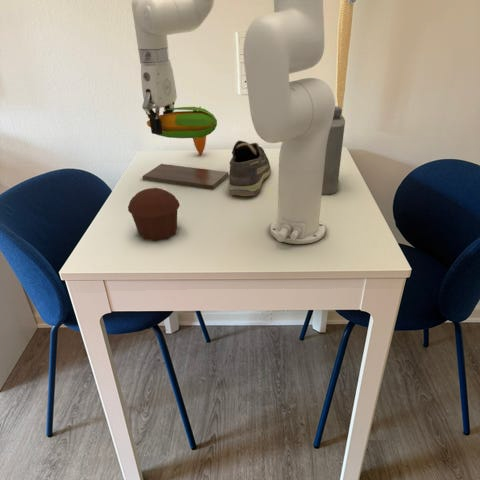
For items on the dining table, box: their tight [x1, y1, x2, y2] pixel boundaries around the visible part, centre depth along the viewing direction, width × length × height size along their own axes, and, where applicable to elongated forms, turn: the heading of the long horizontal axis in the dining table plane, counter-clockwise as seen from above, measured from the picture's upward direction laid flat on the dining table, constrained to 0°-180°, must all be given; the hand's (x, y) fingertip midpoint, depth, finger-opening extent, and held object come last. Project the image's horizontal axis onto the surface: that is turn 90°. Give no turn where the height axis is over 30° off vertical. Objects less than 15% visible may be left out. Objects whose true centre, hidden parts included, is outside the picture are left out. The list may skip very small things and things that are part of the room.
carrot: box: [192, 106, 207, 156], centre depth 142 cm, size 5×5×15 cm
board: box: [142, 163, 229, 190], centre depth 131 cm, size 11×23×1 cm, turn 67°
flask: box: [322, 105, 346, 195], centre depth 118 cm, size 15×6×20 cm, turn 176°
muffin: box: [127, 187, 181, 242], centre depth 101 cm, size 12×11×10 cm
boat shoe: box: [227, 140, 272, 197], centre depth 125 cm, size 11×29×11 cm, turn 174°
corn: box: [146, 106, 218, 139], centre depth 121 cm, size 7×8×20 cm
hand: (163, 129), depth 123 cm, fingers closed on corn, 6 cm apart
